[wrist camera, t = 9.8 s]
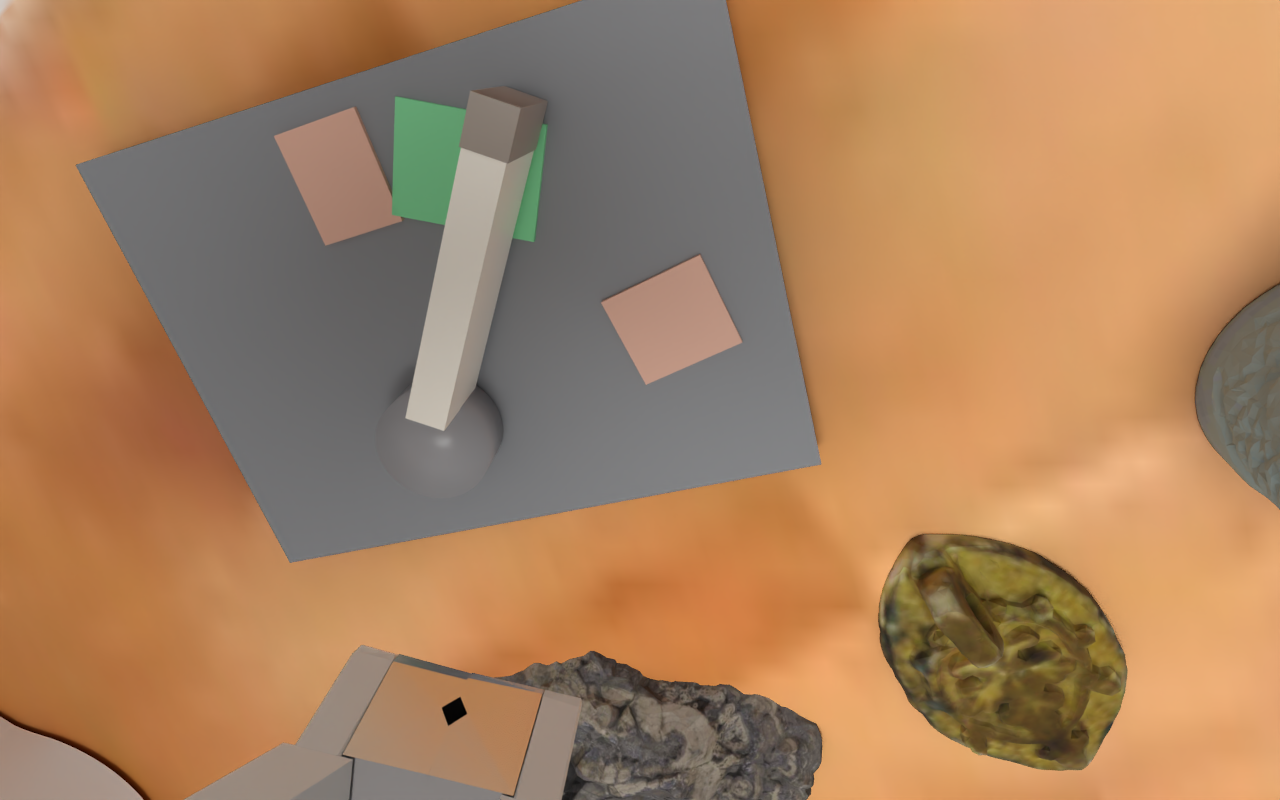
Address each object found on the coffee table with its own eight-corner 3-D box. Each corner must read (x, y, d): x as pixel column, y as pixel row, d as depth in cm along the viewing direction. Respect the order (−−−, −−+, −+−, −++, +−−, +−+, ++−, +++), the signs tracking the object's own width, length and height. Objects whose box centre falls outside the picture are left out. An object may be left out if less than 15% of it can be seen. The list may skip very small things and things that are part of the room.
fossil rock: (408, 700, 40) (554, 876, 45) (378, 762, 37) (541, 945, 41) (732, 576, 35) (859, 789, 40) (734, 633, 32) (873, 860, 36)
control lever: (489, 486, 32) (460, 539, 28) (387, 453, 31) (345, 502, 28) (590, 115, 25) (569, 125, 22) (463, 70, 25) (421, 73, 22)
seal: (1159, 687, 36) (990, 471, 32) (1231, 766, 32) (1046, 527, 28) (990, 784, 38) (812, 593, 34) (1035, 871, 34) (837, 663, 30)
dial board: (306, 543, 36) (287, 565, 34) (105, 159, 29) (71, 165, 28) (817, 446, 31) (821, 466, 30) (717, -39, 24) (716, -45, 23)
